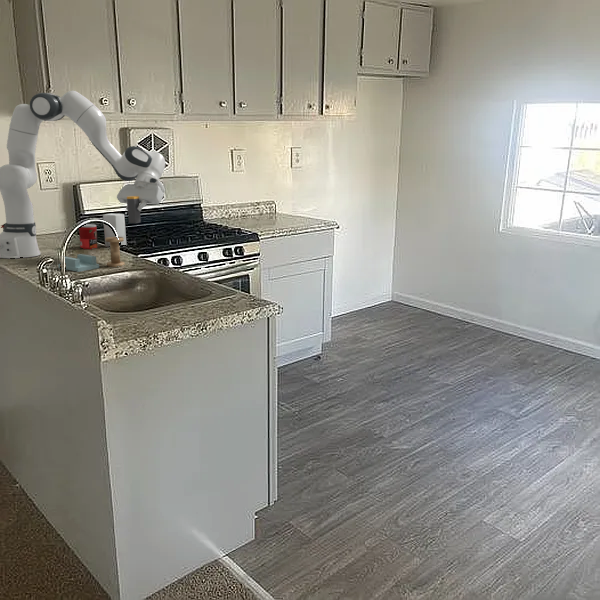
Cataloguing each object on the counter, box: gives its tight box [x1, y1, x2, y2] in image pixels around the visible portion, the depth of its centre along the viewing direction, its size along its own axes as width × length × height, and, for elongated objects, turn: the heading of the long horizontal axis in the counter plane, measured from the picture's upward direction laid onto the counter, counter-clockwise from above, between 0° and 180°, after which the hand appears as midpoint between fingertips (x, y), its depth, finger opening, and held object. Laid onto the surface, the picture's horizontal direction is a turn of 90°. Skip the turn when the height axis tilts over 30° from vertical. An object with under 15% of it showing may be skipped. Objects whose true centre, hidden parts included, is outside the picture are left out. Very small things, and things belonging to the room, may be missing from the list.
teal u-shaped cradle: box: [57, 253, 100, 273], centre depth 244 cm, size 12×10×4 cm
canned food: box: [78, 223, 98, 250], centre depth 289 cm, size 8×8×11 cm
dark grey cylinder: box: [126, 196, 142, 224], centre depth 256 cm, size 4×4×11 cm
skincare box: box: [102, 213, 127, 247], centre depth 296 cm, size 8×7×16 cm
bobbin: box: [104, 237, 126, 268], centre depth 249 cm, size 7×7×11 cm
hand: (133, 209), depth 255 cm, fingers closed on dark grey cylinder, 3 cm apart
